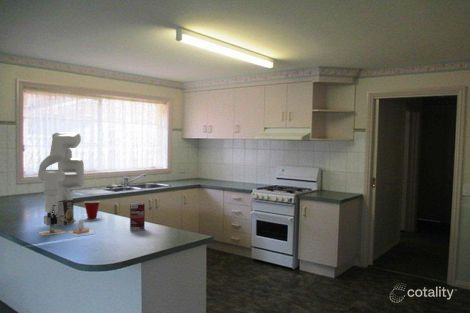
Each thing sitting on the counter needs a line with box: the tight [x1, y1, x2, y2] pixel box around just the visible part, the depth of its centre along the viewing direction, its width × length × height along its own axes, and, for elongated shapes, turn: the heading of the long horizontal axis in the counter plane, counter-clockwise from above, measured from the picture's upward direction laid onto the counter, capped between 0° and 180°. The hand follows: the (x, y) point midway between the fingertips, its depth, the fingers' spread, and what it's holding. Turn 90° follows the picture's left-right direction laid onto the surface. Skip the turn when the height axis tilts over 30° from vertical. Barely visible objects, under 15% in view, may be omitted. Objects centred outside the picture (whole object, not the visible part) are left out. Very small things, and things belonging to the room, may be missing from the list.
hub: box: [66, 219, 96, 238], centre depth 215 cm, size 12×12×8 cm
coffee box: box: [55, 199, 75, 226], centre depth 237 cm, size 9×6×16 cm
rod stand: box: [38, 225, 67, 237], centre depth 214 cm, size 12×12×7 cm
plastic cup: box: [83, 200, 101, 220], centre depth 261 cm, size 11×11×12 cm
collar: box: [43, 214, 60, 227], centre depth 214 cm, size 7×7×4 cm
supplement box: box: [129, 202, 146, 232], centre depth 224 cm, size 9×5×16 cm, turn 105°
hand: (52, 222), depth 214 cm, fingers closed on collar, 7 cm apart
